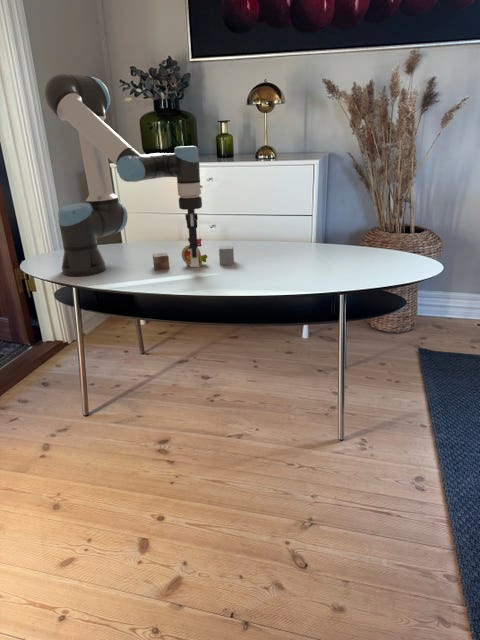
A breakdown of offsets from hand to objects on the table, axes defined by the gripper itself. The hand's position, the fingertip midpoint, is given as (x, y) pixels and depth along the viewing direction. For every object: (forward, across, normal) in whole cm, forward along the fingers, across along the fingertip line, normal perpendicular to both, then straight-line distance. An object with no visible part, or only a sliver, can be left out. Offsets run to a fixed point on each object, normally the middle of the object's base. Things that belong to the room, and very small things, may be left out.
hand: (195, 266), depth 165 cm
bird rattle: (+3, +10, 0) cm, 10 cm away
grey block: (+3, +11, -12) cm, 16 cm away
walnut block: (+3, +10, +12) cm, 16 cm away
